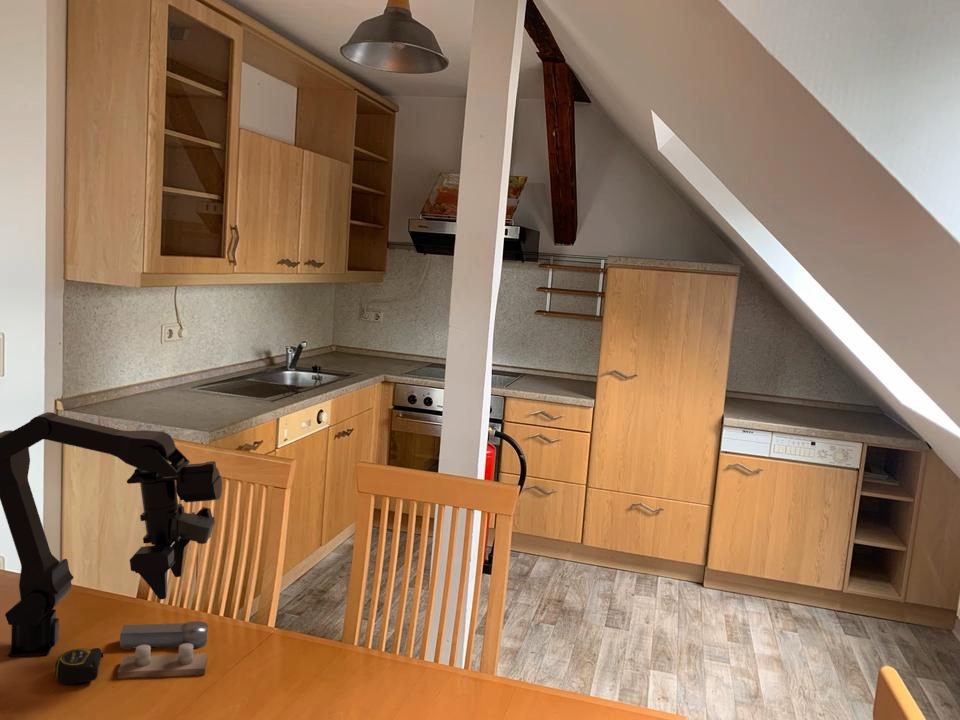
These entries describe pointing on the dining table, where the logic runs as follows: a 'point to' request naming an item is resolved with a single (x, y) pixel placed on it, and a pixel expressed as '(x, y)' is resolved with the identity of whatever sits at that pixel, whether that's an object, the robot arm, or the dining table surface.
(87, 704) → the dining table surface
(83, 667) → the tape measure
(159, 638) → the grey bar with knob
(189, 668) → the peg stand
